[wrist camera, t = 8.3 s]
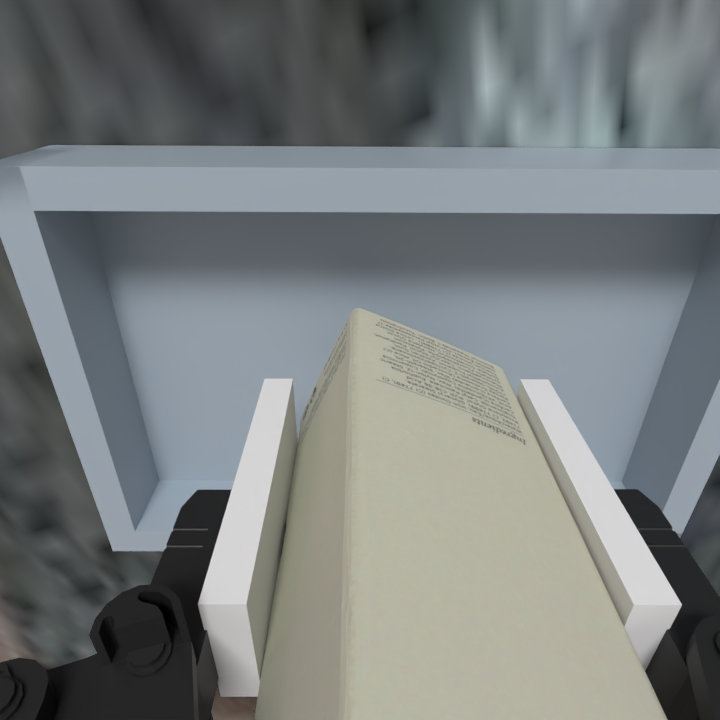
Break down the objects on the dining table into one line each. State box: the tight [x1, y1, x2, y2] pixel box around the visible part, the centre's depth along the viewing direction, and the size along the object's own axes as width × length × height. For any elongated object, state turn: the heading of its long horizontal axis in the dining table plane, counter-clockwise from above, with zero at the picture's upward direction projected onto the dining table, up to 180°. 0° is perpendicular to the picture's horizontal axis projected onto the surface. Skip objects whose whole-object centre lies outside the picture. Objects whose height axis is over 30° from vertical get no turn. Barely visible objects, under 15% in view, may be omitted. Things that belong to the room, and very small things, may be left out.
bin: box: [0, 145, 720, 551], centre depth 16 cm, size 13×20×3 cm, turn 90°
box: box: [254, 308, 668, 720], centre depth 10 cm, size 5×4×13 cm
